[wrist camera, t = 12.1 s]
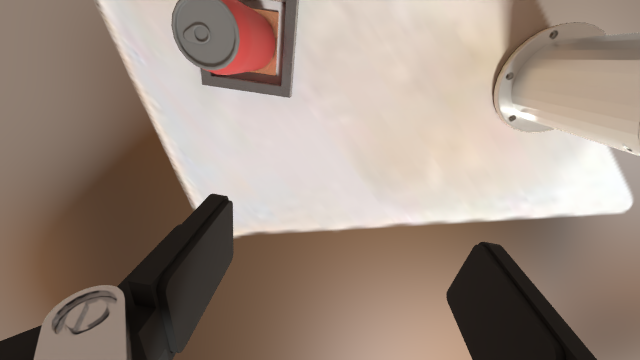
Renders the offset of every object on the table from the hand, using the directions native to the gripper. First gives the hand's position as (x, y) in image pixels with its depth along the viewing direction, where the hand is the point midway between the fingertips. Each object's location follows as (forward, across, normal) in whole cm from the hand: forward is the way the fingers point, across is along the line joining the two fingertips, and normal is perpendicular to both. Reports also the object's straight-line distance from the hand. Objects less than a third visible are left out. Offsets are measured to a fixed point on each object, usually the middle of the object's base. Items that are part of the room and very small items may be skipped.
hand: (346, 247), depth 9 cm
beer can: (+27, +13, -6) cm, 31 cm away
